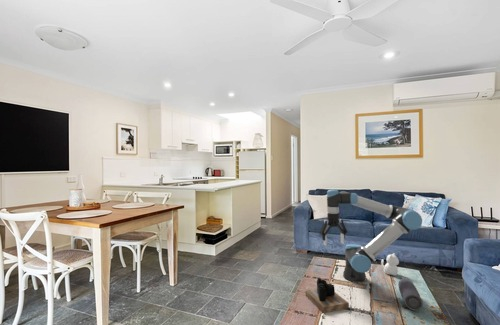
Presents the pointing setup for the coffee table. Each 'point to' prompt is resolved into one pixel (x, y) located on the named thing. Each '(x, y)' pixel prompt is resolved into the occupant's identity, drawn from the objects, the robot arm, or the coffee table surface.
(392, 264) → the cat figurine
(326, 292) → the film camera
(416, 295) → the bluetooth speaker
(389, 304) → the coffee table surface
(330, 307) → the wooden pallet
